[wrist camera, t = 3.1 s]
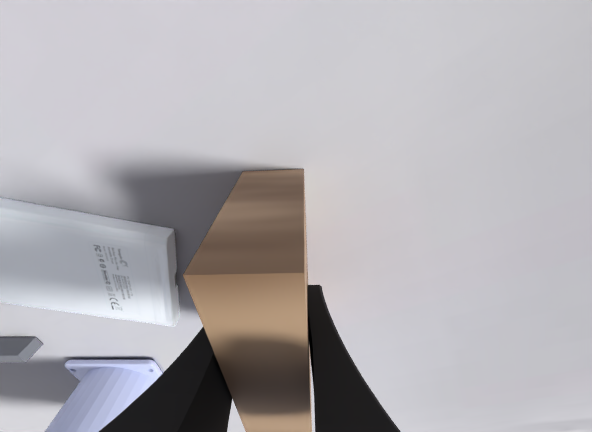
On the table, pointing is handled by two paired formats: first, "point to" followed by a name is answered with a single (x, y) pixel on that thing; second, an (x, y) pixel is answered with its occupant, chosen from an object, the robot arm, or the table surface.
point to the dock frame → (18, 349)
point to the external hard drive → (87, 264)
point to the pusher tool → (259, 299)
